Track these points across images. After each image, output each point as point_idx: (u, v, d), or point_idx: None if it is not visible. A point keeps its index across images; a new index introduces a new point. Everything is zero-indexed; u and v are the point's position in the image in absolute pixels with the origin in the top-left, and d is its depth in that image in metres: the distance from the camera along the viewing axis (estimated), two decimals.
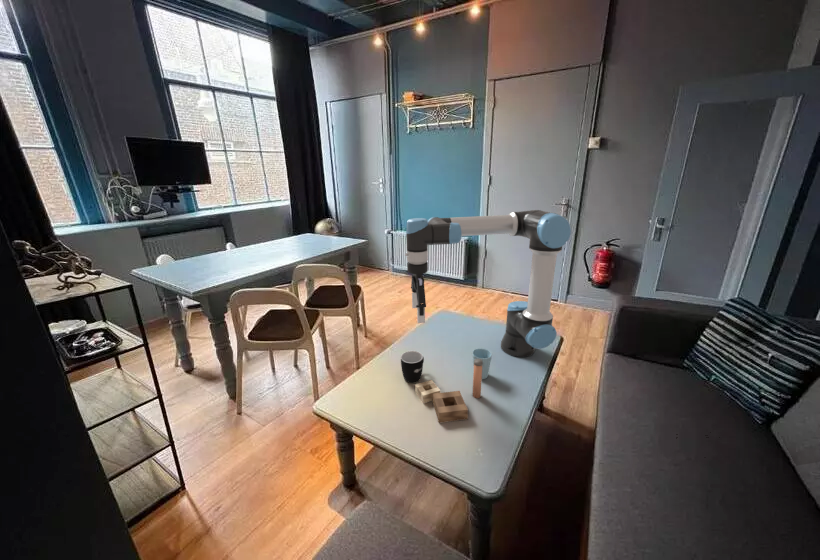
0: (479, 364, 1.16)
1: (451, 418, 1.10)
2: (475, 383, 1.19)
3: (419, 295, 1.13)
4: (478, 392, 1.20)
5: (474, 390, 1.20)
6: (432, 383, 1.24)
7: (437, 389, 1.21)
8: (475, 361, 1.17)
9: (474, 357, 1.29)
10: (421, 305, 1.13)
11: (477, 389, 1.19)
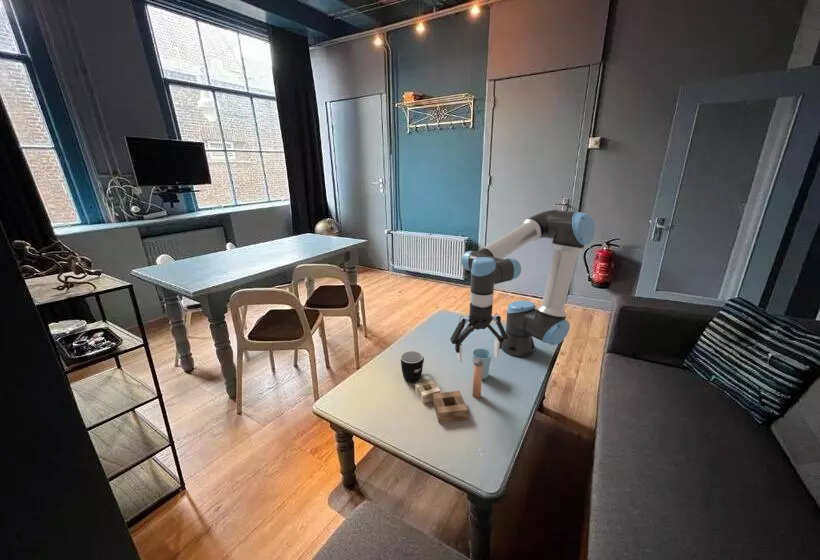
0: (479, 364, 1.16)
1: (451, 418, 1.10)
2: (475, 383, 1.19)
3: (455, 330, 1.13)
4: (478, 392, 1.20)
5: (474, 390, 1.20)
6: (432, 383, 1.24)
7: (437, 389, 1.21)
8: (475, 361, 1.17)
9: (474, 357, 1.29)
10: (451, 339, 1.13)
11: (477, 389, 1.19)
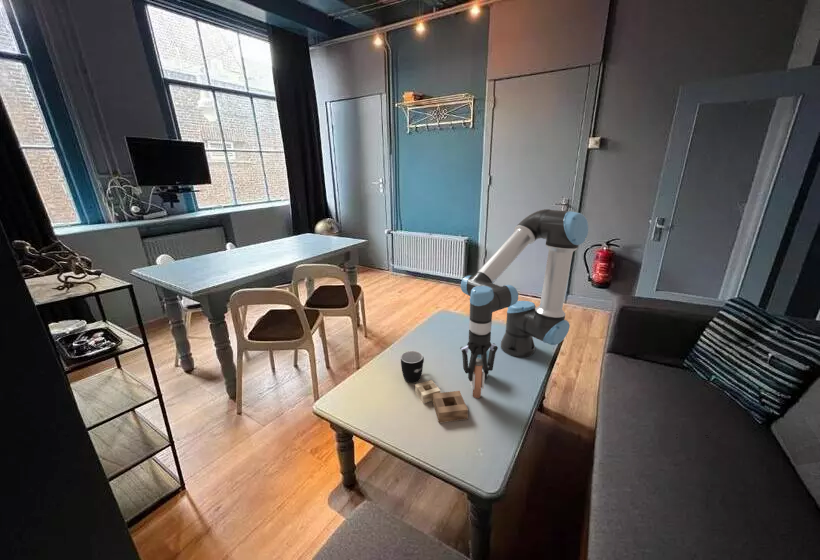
0: (479, 364, 1.16)
1: (451, 418, 1.10)
2: (475, 383, 1.19)
3: (463, 360, 1.17)
4: (478, 392, 1.20)
5: (474, 390, 1.20)
6: (432, 383, 1.24)
7: (437, 389, 1.21)
8: None
9: None
10: (464, 368, 1.18)
11: (478, 389, 1.19)
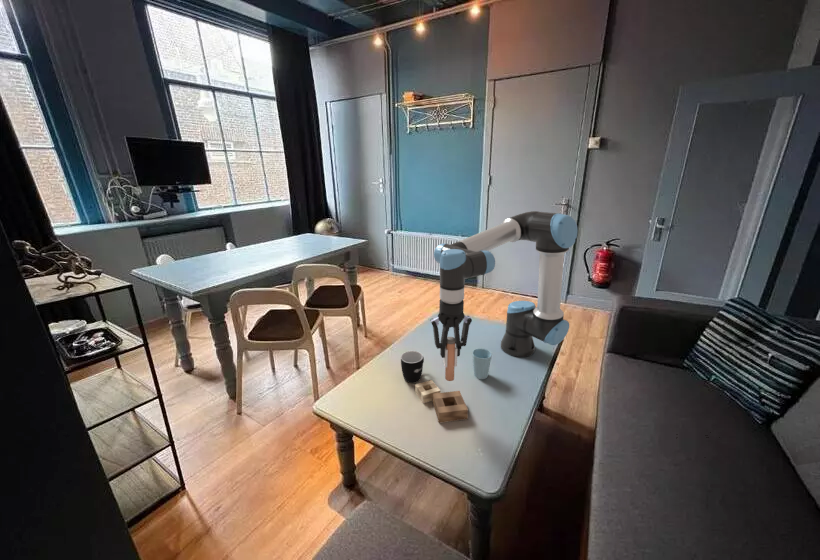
0: (451, 342, 1.04)
1: (451, 418, 1.10)
2: (447, 364, 1.07)
3: (434, 334, 1.05)
4: (451, 374, 1.08)
5: (446, 372, 1.08)
6: (432, 383, 1.24)
7: (437, 389, 1.21)
8: (447, 339, 1.05)
9: (474, 357, 1.29)
10: (435, 343, 1.06)
11: (450, 371, 1.08)
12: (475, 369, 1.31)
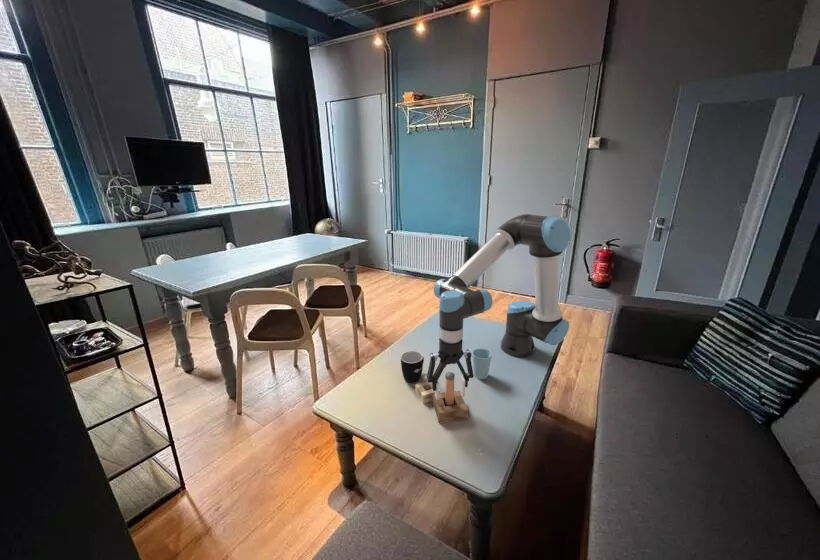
0: (450, 378, 1.09)
1: (451, 418, 1.10)
2: (447, 398, 1.12)
3: None
4: None
5: (446, 405, 1.13)
6: None
7: None
8: (446, 374, 1.10)
9: (474, 357, 1.29)
10: (427, 377, 1.10)
11: (450, 404, 1.12)
12: (475, 369, 1.31)
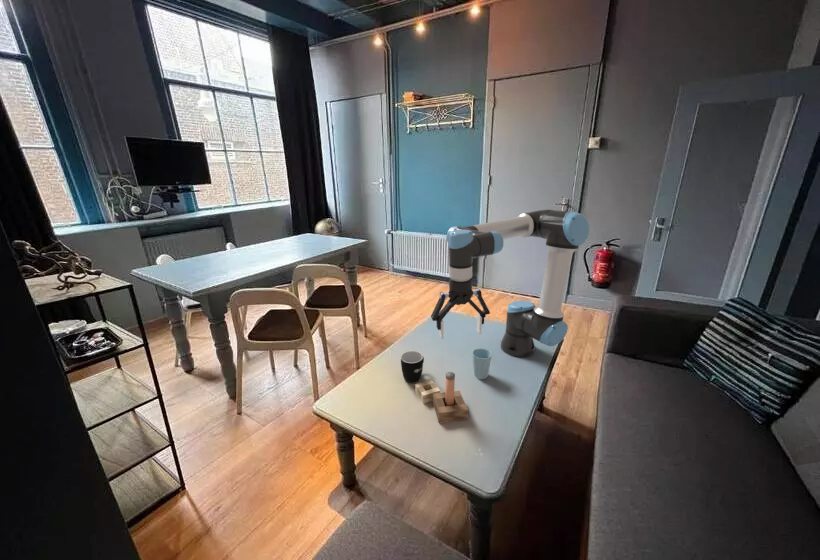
0: (451, 378, 1.09)
1: (451, 418, 1.10)
2: (447, 398, 1.12)
3: (435, 307, 1.10)
4: None
5: (446, 405, 1.13)
6: (432, 383, 1.24)
7: (437, 389, 1.21)
8: (447, 374, 1.10)
9: (474, 357, 1.29)
10: (431, 316, 1.10)
11: (450, 404, 1.12)
12: (475, 369, 1.31)
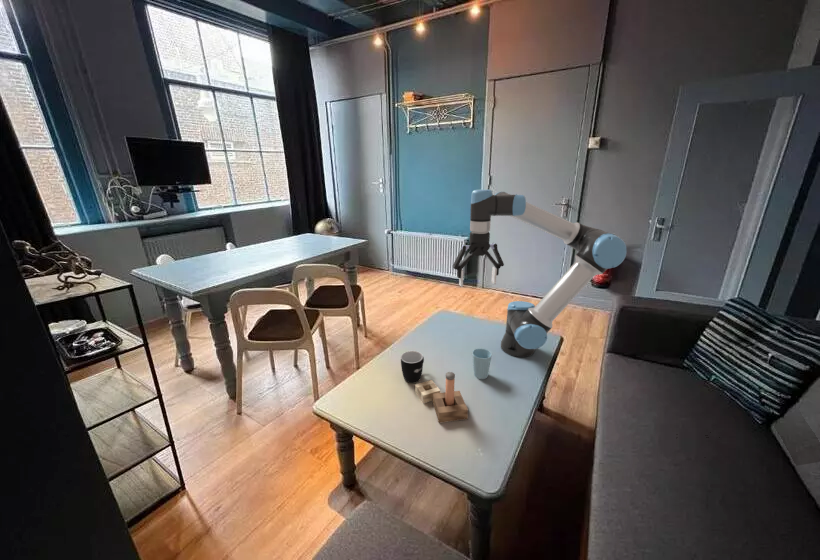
0: (451, 378, 1.09)
1: (451, 418, 1.10)
2: (447, 398, 1.12)
3: (457, 257, 1.27)
4: None
5: (446, 405, 1.13)
6: (432, 383, 1.24)
7: (437, 389, 1.21)
8: (447, 374, 1.10)
9: (474, 357, 1.29)
10: (453, 266, 1.27)
11: (450, 404, 1.12)
12: (475, 369, 1.31)
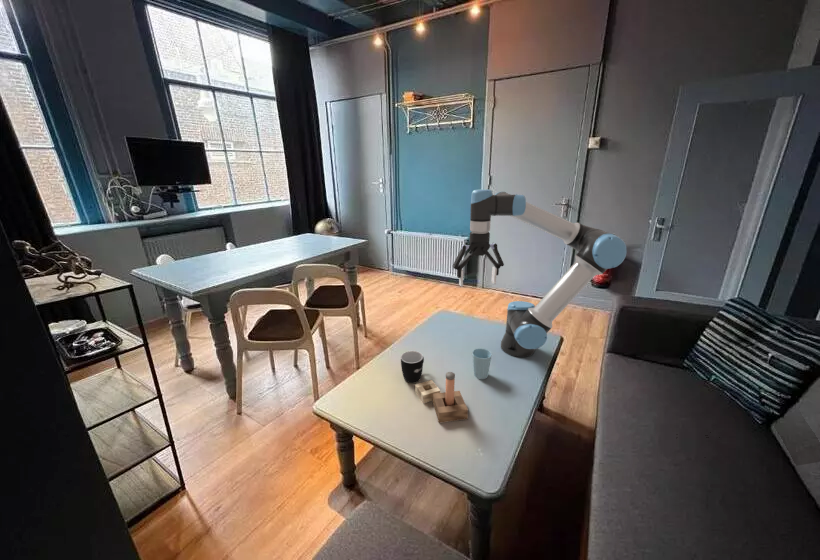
0: (451, 378, 1.09)
1: (451, 418, 1.10)
2: (447, 398, 1.12)
3: None
4: None
5: (446, 405, 1.13)
6: (432, 383, 1.24)
7: (437, 389, 1.21)
8: (447, 374, 1.10)
9: (474, 357, 1.29)
10: (453, 266, 1.27)
11: (450, 404, 1.12)
12: (475, 369, 1.31)
